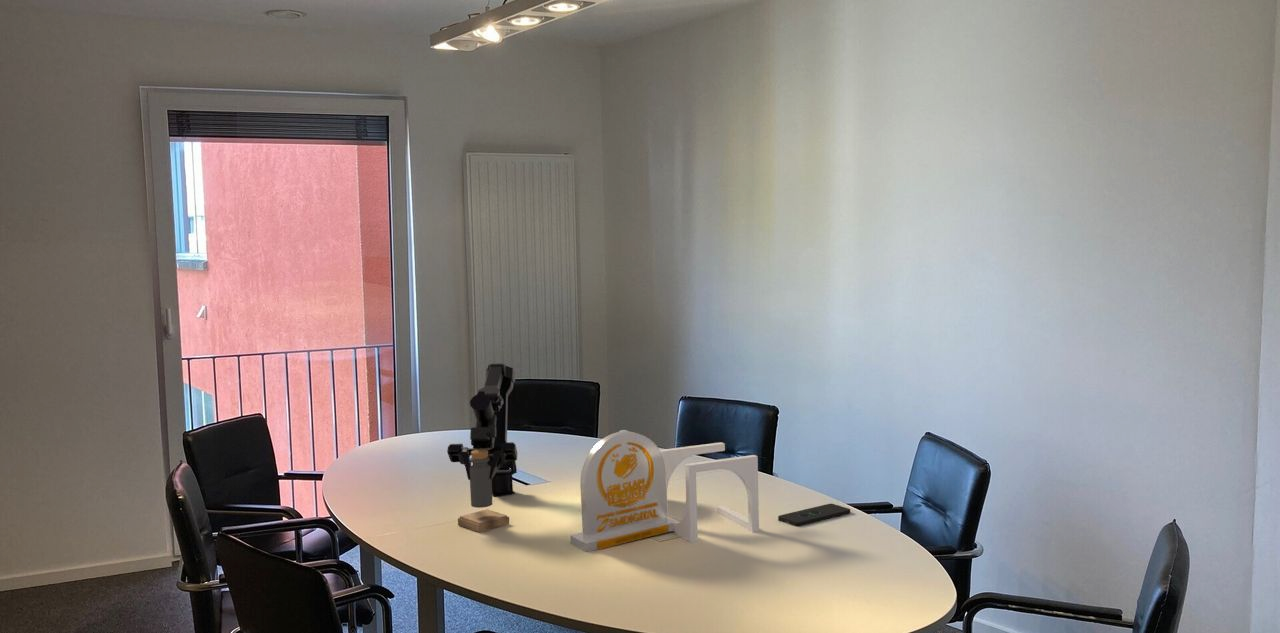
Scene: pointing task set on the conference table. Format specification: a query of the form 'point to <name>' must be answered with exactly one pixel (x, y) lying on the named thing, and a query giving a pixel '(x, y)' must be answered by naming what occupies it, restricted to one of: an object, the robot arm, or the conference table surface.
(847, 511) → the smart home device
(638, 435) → the award
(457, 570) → the conference table surface
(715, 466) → the white arched frame
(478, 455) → the bottle
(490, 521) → the plinth
